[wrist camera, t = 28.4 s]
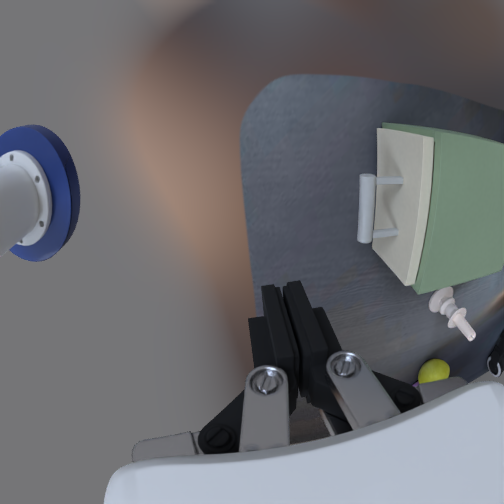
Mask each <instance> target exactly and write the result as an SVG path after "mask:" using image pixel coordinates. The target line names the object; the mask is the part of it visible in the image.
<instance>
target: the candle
mask: <svg viewBox="0 0 504 504" xmlns="http://www.w3.org/2000/svg"><path fill="white" fill-rule="evenodd" d="M452 296H453V289H452V287H451V286H450V287H446V288H442V289H439V290H436V291H435V292H434V293H433V295H432V296H431V298H430V301H429V305H428V306H429V309H430V310H431V311H432V312H439V311H440V313H441V314H442V315H445V314H446V316H447V317H448V318H449V322H448V327H449V328H453V327H455V326H457V327H458V328H459V329H460V331H461V332H462V333H463V334H464V335H465V337H466V338H467V339H468V340H469V341H471V340H473V339H474V338H475V336H476V333H475V332H474V330H473V329H472V327H471V326H470V325H469V323H468V322H467V321H466V320H465V318H464V317H465V315H466V309H465V308H460V309H458V308H457V306H456V305H454V304H455V300H454V298H452Z"/></svg>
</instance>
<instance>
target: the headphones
mask: <svg viewBox="0 0 504 504" xmlns="http://www.w3.org/2000/svg"><path fill="white" fill-rule="evenodd" d="M500 337H501V338H502V339H501V341H500V342H499V344H498V346H497V345H496V346H495V348H494V351H493V352H492V354H491V356H489V357H488V361H487V364H488V368H489V371H490V372H491V374H492V375H493V376H495V377H499V376H500V375H501V374H502V372H503V371H504V331H503V333H502V334H501V336H500Z"/></svg>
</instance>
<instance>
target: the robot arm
mask: <svg viewBox="0 0 504 504" xmlns="http://www.w3.org/2000/svg"><path fill="white" fill-rule="evenodd" d="M51 216H52V196H51V191H50V186H49V183H48V180H47V177H46V174H45V172H44V170H43V168H42V167H41V165H40V164H39V162H38V161H37V160H36V159H35V158H34V157H33V156H32V155H30V154H29V153H27V152H25V151H21V150H14V151H11V152H8V153H6V154H4V155H2V156H1V157H0V257H1V256H2V255H3V254H5V253H6V252H7V251H8V250H9V249H10V248H12V247H13V246H14V245H15V244H18V245H23V246H29V245H32V244H34V243H36V242H37V241H38V240H40V239H41V238H42V237H43V236H44V235H45V233H46V231H47V230H48V227H49V224H50V221H51ZM261 290H262V300H263V310H264V316H263V317H255V318H249V319H248V322H249V330H250V338H251V345H252V353H253V361H254V370H252V371H251V372H250V373H249V374H248V375H247V378H246V381H245V389H244V390H243V391H242V392H241V393H240V394H239V395H238V396H237V397H236V398H235V399H234V400H233V401H232V402H231V403H230V404H229V405H228V406H227V407H226V408H225V409H223V410H222V411H221V412H220V413H219V414H218V415H217V416H216V417H215V418H214V419H213V420H211V421H210V422H209V423H208V424H207V425H206V426H205V427H204V428H203V429H202V430H201V431H198V432H194V433H191V432H190V431H189V432H185V433H180V434H175V435H170V436H165V437H159V438H153V439H147V440H143V441H139V442H138V443H137V444H136V445H135V446H134V448H133V449H132V461H133V463H130V464H128V465H125V466H123V467H121V468H120V469H118V470H117V471H116V472H115V473H114V474H113V475H112V477H111V479H110V481H109V483H108V486H107V490H106V494H105V500H104V504H504V385H502V384H501V383H498V382H494V381H481V382H475V383H472V384H468V383H467V382H466V381H465V380H464V379H463V378H461V377H451V378H446V379H441V380H436V381H431V382H426V383H420V384H418V386H415V387H414V386H412V385H410V384H408V383H405V382H402V381H399V380H396V379H393V378H391V377H388V376H385V375H382V374H380V373H377V372H374V371H372V370H371V369H370V368H369V366H368V365H367V363H366V362H365V361H364V359H363V358H362V357H361V356H360V355H359V354H357V353H355V352H352V351H344V350H343V351H342V349H341V346H340V344H339V342H338V340H337V337H336V335H335V333H334V331H333V329H332V326H331V324H330V322H329V320H328V318H327V315H326V313H325V311H324V309H323V308H322V307H318V308H312V307H311V305H310V302H309V300H308V298H307V295H306V293H305V291H304V288H303V286H302V284H301V281H300V280H299V281H293V282H287V286H283V297H282V294H281V291H280V287H275V286H274V284H273V285H266V286H261ZM298 388H299V391H300V395H301V397H306V400H307V403H310V402H311V404H312V405H313V406H315V407H317V408H319V412H320V414H321V416H322V418H323V420H324V422H325V424H326V426H327V428H328V430H329V432H330V434H331V436H332V437H328V438H324V439H320V440H315V441H311V442H306V443H301V444H296V445H291V446H290V444H289V416H290V415H291V414H292V413H293V411H294V410H295V409H296V399H297V398H298Z"/></svg>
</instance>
